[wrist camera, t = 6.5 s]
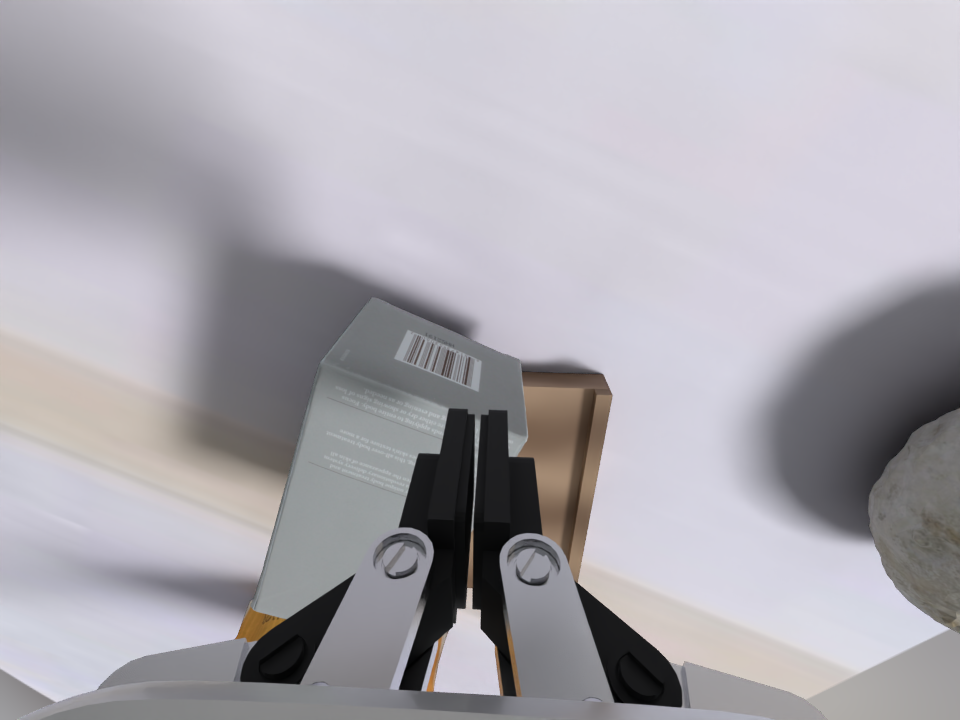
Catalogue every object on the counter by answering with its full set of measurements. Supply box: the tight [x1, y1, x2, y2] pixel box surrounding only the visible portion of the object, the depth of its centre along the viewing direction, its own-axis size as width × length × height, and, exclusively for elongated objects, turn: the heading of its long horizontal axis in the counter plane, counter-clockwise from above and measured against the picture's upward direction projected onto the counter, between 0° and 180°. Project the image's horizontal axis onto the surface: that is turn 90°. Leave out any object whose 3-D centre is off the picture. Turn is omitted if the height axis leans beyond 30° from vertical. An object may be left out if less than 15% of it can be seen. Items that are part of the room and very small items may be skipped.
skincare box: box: [251, 297, 528, 619], centre depth 21 cm, size 8×7×16 cm
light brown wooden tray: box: [467, 372, 613, 588], centre depth 27 cm, size 17×13×2 cm
